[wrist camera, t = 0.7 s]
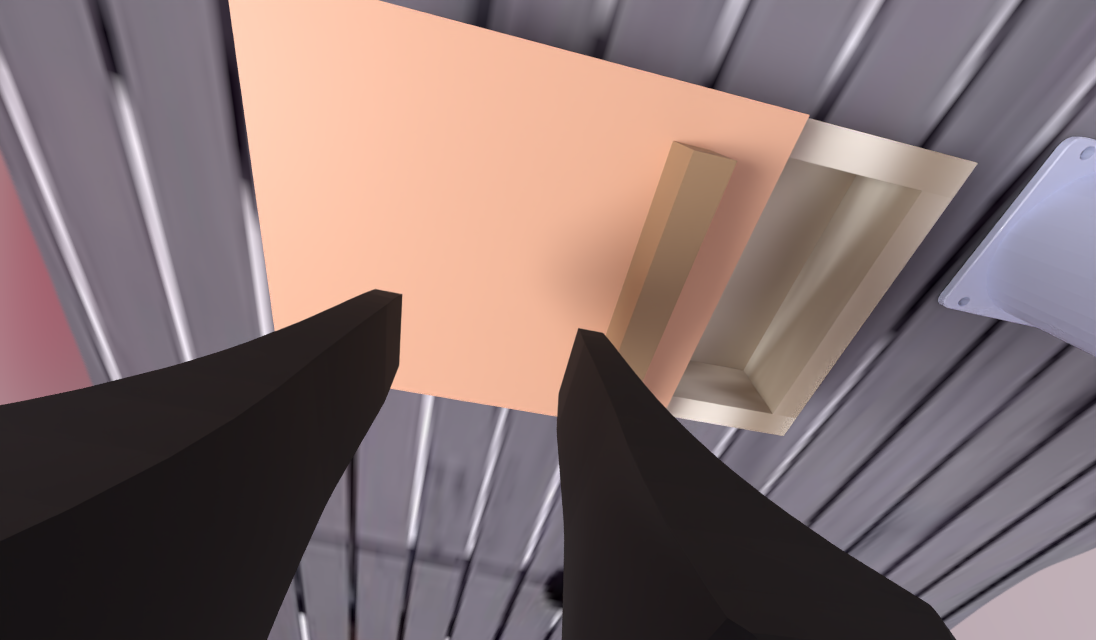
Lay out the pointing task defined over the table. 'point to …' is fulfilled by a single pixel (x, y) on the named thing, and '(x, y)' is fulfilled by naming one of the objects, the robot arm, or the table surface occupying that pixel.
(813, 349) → the storage case
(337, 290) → the sliding lid
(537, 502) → the table surface
